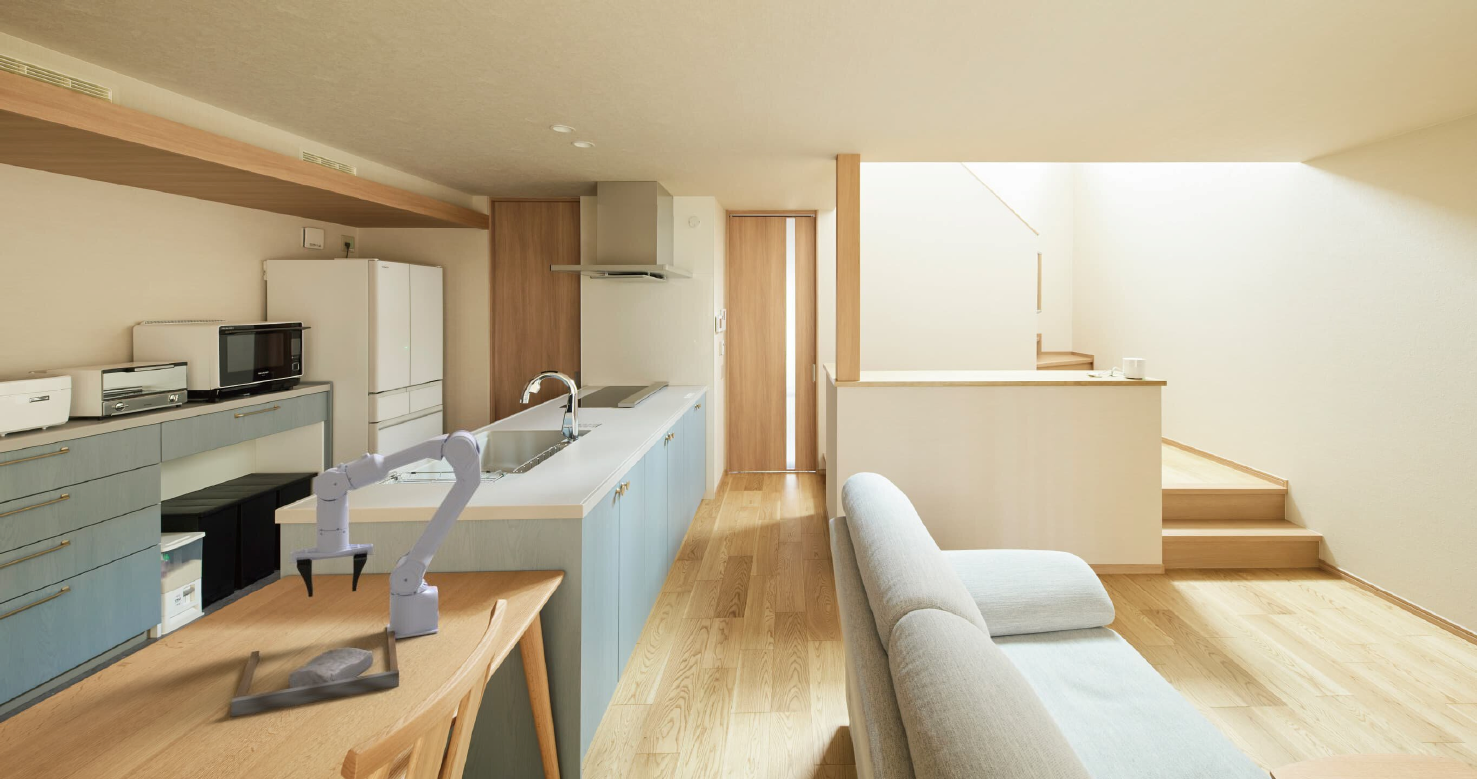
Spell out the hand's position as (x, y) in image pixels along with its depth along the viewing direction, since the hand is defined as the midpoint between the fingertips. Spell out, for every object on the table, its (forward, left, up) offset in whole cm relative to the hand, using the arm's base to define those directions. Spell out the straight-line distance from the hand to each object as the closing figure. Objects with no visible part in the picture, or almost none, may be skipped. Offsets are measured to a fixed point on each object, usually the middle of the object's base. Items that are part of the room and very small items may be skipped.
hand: (332, 592), depth 141 cm
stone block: (0, +19, -10) cm, 21 cm away
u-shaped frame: (+1, +16, -9) cm, 18 cm away
